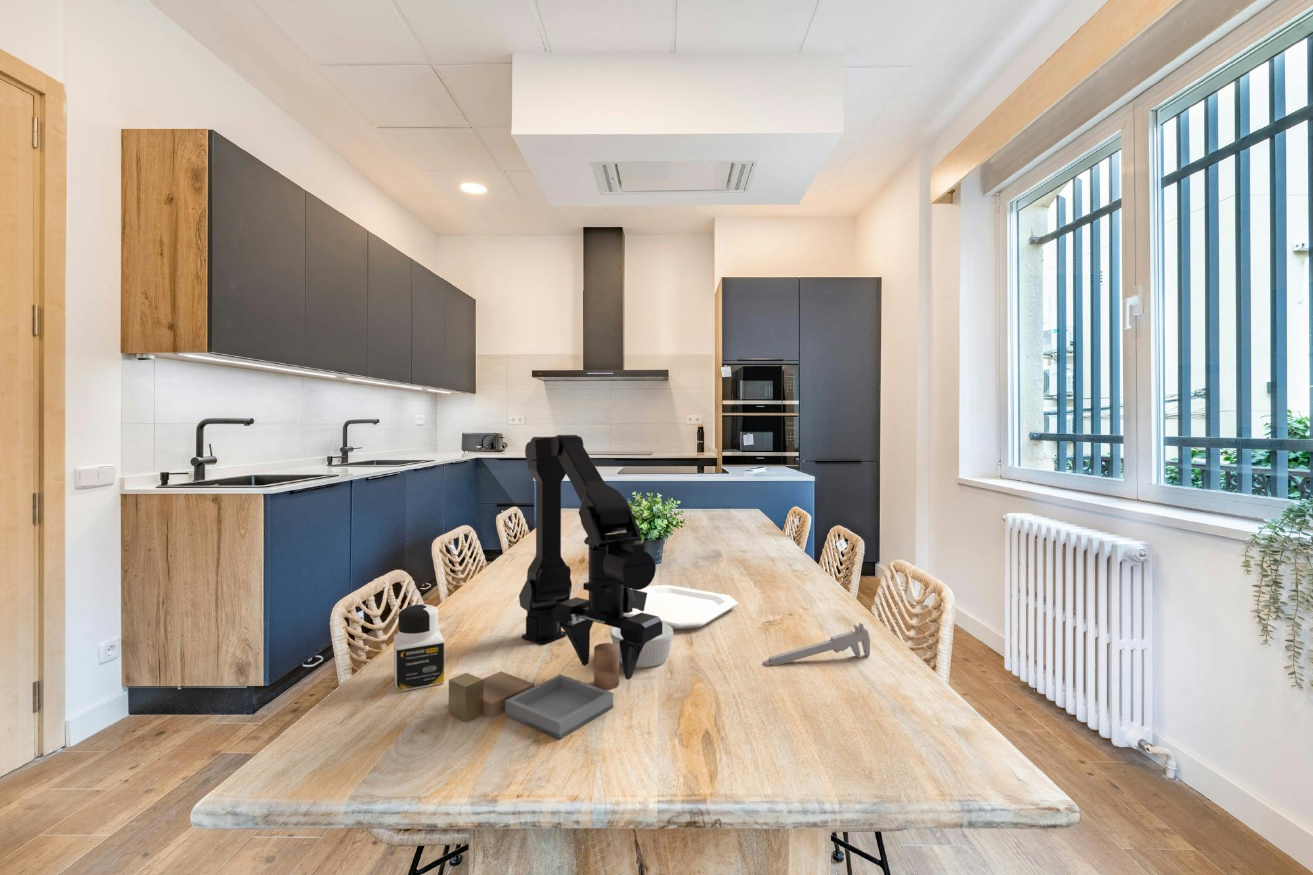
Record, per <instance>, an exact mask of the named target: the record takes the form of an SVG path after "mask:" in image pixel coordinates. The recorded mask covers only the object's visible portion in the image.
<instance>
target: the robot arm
mask: <svg viewBox="0 0 1313 875" xmlns="http://www.w3.org/2000/svg"><path fill="white" fill-rule="evenodd" d="M524 454H525V460H526V461H527V469H528V471H529V473H530V474H531V476H532V477H533V479H534V481H535V485H536V486H535V557H534V558H533V559H532V561H531V563H530V565H529V567H528V568H527V571H526V572H527V573H526V581H525V582H524V584H523V587H522V588H521V591H520V593H519V595H518V598H519V606H520V608H522V609H523V610H525V611H526V616H525V633H522V634H521V638H522V639H526V640H529V641H533V642H535V643H538V644H541V645H546V644H548V643H550V642H554V641H555V640H558V639H560V638H563V637H565V636H566V637H567V638H568V639H569V641H570V643H571V645H572V646H573V649H574V651H575V653H576V655H577V657H578V659H579V661H580V664H581V665H582V666H587V665H588V664H589V662H590V651H591V650H590V647H591V646H590V644H591V643H590V640H591V629H592V626H593V624H594V623H598V624H602V625H606V626H608V627H612V628H613V627H617V628H620V634H621V636H622V637H623V640H621V641H619V644H620V650H621V657H622V664H621V665H622V670H623V674H624V675H623V676H624V679H625V680H630V679H631V678H632V677H633V674H634V672H635V669H636V668H635V666H636V663H637V661H638V658H639V655H640V653H641V651H642V648H643V646H644V645H645V643H646V642H648V641H650V640H652V639H654V638H655V637H657V636H659V635H661V634H662V621H661V619H660V618H659V617H658V616H654V615H650V614H646V613H639V614H636V615H634V616H632V617H625V616H624V613H630V612H632V611H633V608H635V609H638V610H640V611H644V608H645V603H646V598H647V593H646V592H642V591H638V590H641V589H643V588H645V587H648V586H650V584H651V583H652V581H653V580H654V577H655V574H656V571H657V570H656V568H657V567H656V566H657V565H656V563H655V560H654V558H653V556H652V555H651V554H650V553H648V552H647V551H645V544H644V542H641V541H642V535H641V533H640V532H641V529H640V527H639V525H638V523H637V521H636V519H635V517H634V514H633V510H632V508H631V506H630V504H629V502H628V501H627V499H626V498H625V497H624V496H623V495H622V493H621V492H620V491H619V490H617V489H616V488H613V487H612V486H610V485H608V484H607V483H606V482H605V481H604V479H603V478H602V475H601V473H599V472H600V471H599V470H598V469H597V467H596V465H595V464H594V462H593V460H592V458H591V457H590V455H589V454H588V452H587V451H586V449H585V447H584V440H583V438H582V437H581V436H580V435H579V436H578V435H577V434H557V435H554V436H533V437H532V438H531V439H530V441H529V442H527V443H526V445H525V450H524ZM565 477H567V478H568V480H569V481H570V483H571V485H572V487H573V490H574V491H575V493H576V494H577V497H578V499H579V501H580V504H579V508H578V515H579V518H580V522H581V525H582V528H583V530H584V531H585V533H586V535H587V537H585V539H584V540H583V543H584V545H587V546H588V581H585V582H583V583H582V584H583V586H582V587H583V591H588V599H585V598H581V597H577V596H575V597H573V598H571V593H572V587H573V585H572V583H573V582H572V580H571V572H572V570H571V568H570V566H569V565H567V564H566V562H565V561H564V559H563V557H562V481H564V478H565ZM562 629H563V630H562Z"/></svg>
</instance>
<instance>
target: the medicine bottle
mask: <svg viewBox="0 0 1313 875" xmlns="http://www.w3.org/2000/svg"><path fill="white" fill-rule="evenodd" d="M397 617H398V618H397V619H398V624H397V625H398V633H395V634H393V679H394V686H395V691H396V692H397V693H401V692H406V691H412V690H419V689H423V688H428V687H432V686H438V685H443V684H444V683H445V640H444V638H443V636H442V634H441V631H440V629H439V609H438V607H436V606H435V605H432V604H424V603H423V604H413V605H410V606H407V607H405V608H403V609H401V610H400V611H399V613H398V616H397Z"/></svg>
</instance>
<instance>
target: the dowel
mask: <svg viewBox="0 0 1313 875" xmlns="http://www.w3.org/2000/svg"><path fill="white" fill-rule="evenodd" d="M593 653H594V654H593V669H594V671H593V682H594V684H593V686H595V687H597V688H600V689H603V690H606V691H610V690H614V689H616V688H618V687H619V686H620V685H619V684H620V662H619V646H618V645H616V644H613V642H611V643H610V642H604V643H599V644H596V645H595V646H594V648H593Z"/></svg>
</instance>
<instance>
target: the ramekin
mask: <svg viewBox="0 0 1313 875" xmlns="http://www.w3.org/2000/svg"><path fill="white" fill-rule="evenodd" d="M673 636H674V629H672V628H671V627H670V626H669V625H667V624H665V623H663V622H662V634H661V635H659V636H657V637H655V638H654V639H652V640H650V641H648V642H646V643H645V645H644V646H643V648H642V651H641V653H640V655H639V658H638V661H637V663H636V666H635V669H646V668H647V669H648V668H653V667H657V666H659V665H662V664H663V663H664V662H665V661H666V660H667V659H668V658H669V655H670V650H671V646H672V639H673ZM610 638H611V641H612V643H613V644H616V645H618V646H619V664H621V665H623V664H622V657H621V650H620V644H619V641H621V640H623V637H622V636H621V634H620V628H617V627H613V626H612V628H611V629H610Z"/></svg>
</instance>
